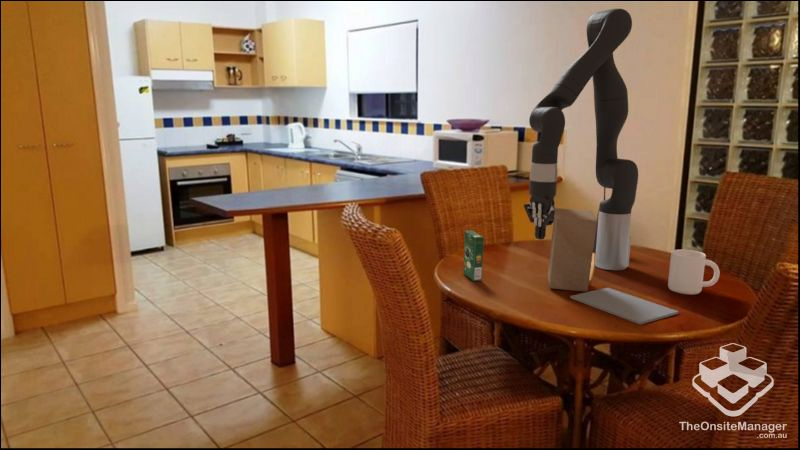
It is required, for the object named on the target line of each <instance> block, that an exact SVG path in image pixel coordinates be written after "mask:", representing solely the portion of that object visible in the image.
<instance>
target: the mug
mask: <svg viewBox="0 0 800 450" xmlns="http://www.w3.org/2000/svg"><path fill="white" fill-rule="evenodd" d="M706 257H707V255H706V253H704V252H701V251H698V250H693V249H673V250H671V253H670V261H669V270H668V271H669V272H668V279H667V280H668V281H667V287H668V289H669V290H670V291H672V292H675V293H677V294H682V295H698V294H700V293H701V292H702V291H703V288H705V287H706V288H708V287H711V286H713V285H715V284H716V283H718V281H719V278H720V274H721V273H720V268H719V266H718V264H717V263H715V262H714V261H712V260H710V259H707V258H706ZM705 266H708V267H711V268H712V270H713V277H712V279H710V280H708V281H706V280H704V275H705V274H704V273H705Z"/></svg>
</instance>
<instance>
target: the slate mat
mask: <svg viewBox="0 0 800 450" xmlns="http://www.w3.org/2000/svg"><path fill="white" fill-rule="evenodd" d="M569 299H572V300H574V301H577V302H580V303H583V304H585V305H588V306H590V307H592V308H595V309H598V310H601V311H603V312H606V313H609V314H612V315H614V316H617V317H618V318H621V319H624V320H627V321H629V322H632V323H634V324H637V325H643V324H647V323H651V322H654V321H657V320H662V319H665V318H668V317H671V316H676V315H678V314H679V313H680V312H679V310H676V309H673V308H671V307H667V306H664V305H661V304H659V303H655V302H652V301H649V300H646V299H643V298H640V297H638V296H634V295H632V294H628V293H625V292H622V291H618V290H617V289H613V288H611V287H604V288H600V289H595V290H590V291H587V292H582V293H578V294H574V295H570V298H569Z"/></svg>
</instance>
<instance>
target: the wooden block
mask: <svg viewBox="0 0 800 450" xmlns="http://www.w3.org/2000/svg"><path fill="white" fill-rule="evenodd" d="M555 208H556V207H555ZM594 214H595V213H594V212H593V210H583V209H573V208H571V209H570V208H556V209H555V214H554V222H553V223H552V233H551V234H552V235H551V243H550V251H549V260H548V269H547V280H548V287H549V288H550V289H552V290H553V289H555V290H563V291H564V290H565V291H573V292H582V293H586V292H589V291H588V290H589V283H590V277H591V268H592V261H593V254H594V252H593V247H594V239H595V232H596V224H597V218H596V217H595V215H594Z"/></svg>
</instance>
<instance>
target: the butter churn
mask: <svg viewBox="0 0 800 450" xmlns="http://www.w3.org/2000/svg"><path fill="white" fill-rule="evenodd" d="M606 189H607V188H605V187H603V201H604V200H606ZM596 216H597V217H596V221H597V224H596V232H595V239H594V247H593V251H594V252H593V253H596V243H597V230H598V217H599V210H597V215H596Z"/></svg>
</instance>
